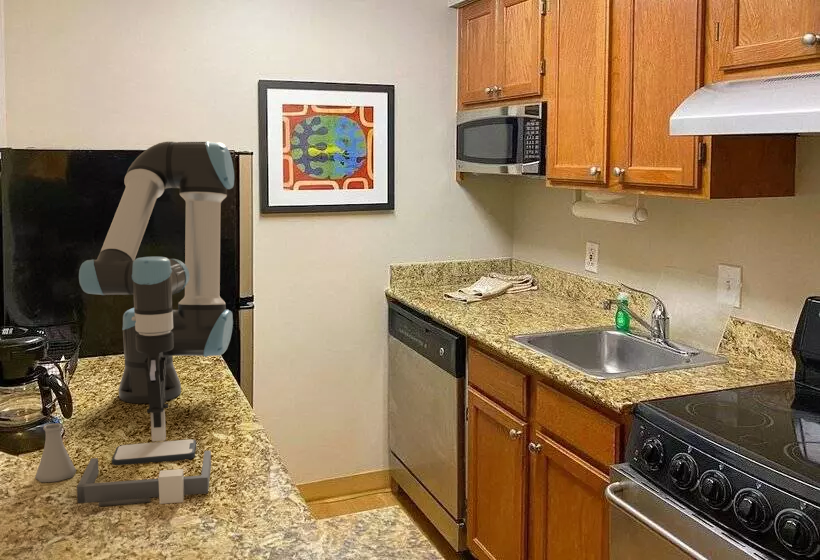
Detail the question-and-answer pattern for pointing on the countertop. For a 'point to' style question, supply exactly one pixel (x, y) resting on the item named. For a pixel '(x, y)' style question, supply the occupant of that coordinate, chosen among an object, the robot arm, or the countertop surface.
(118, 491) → the dock
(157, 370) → the robot arm
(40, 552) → the countertop surface
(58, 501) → the countertop surface
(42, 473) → the flask
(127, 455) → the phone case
